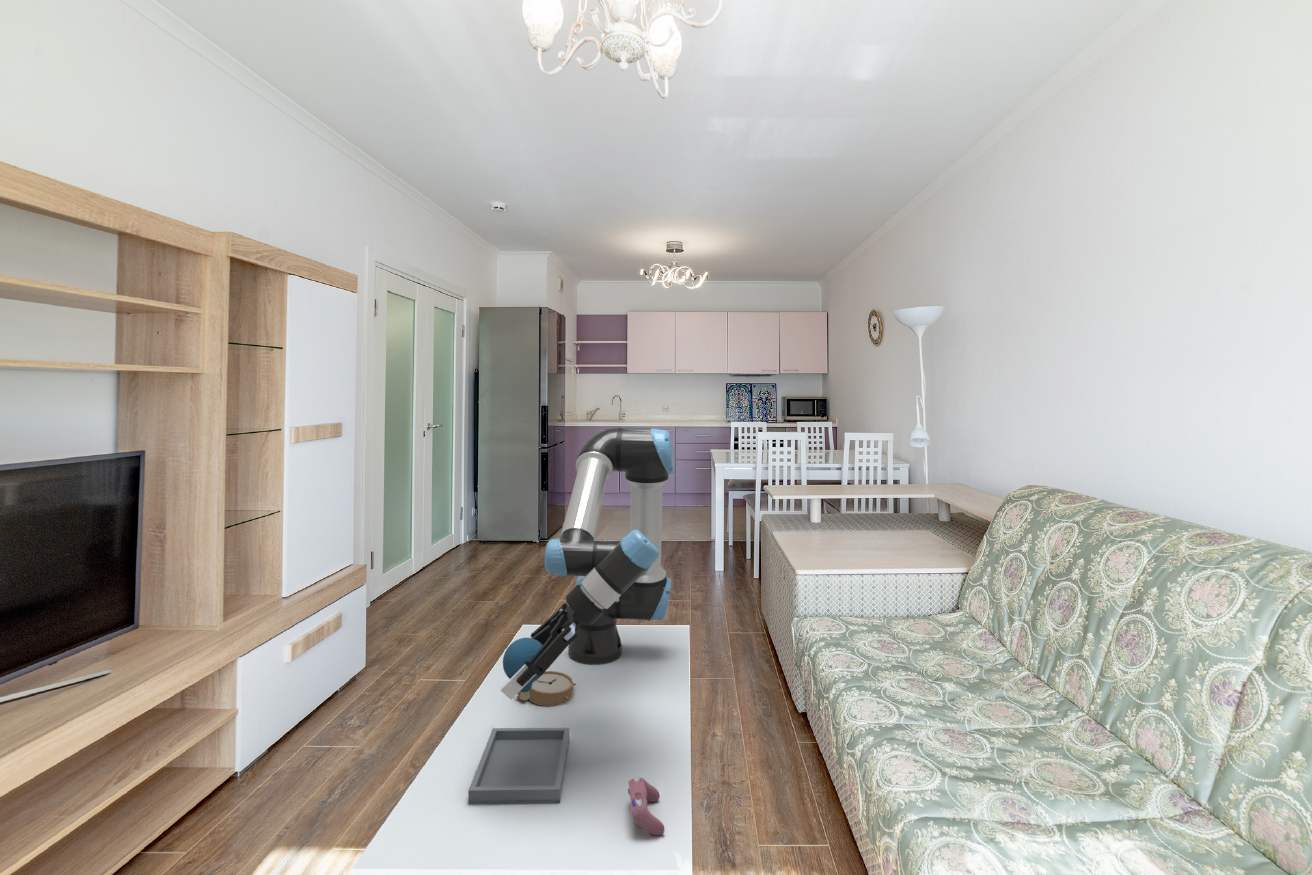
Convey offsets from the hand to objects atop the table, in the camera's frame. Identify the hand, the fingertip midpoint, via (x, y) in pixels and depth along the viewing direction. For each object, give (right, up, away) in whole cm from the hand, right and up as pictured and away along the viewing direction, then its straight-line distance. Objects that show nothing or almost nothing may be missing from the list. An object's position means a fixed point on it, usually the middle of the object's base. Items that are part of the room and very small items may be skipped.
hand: (507, 682), depth 114 cm
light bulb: (+3, -4, +1) cm, 5 cm away
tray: (+3, -17, +2) cm, 18 cm away
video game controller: (+27, -19, -11) cm, 34 cm away
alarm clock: (+1, -16, +31) cm, 35 cm away
